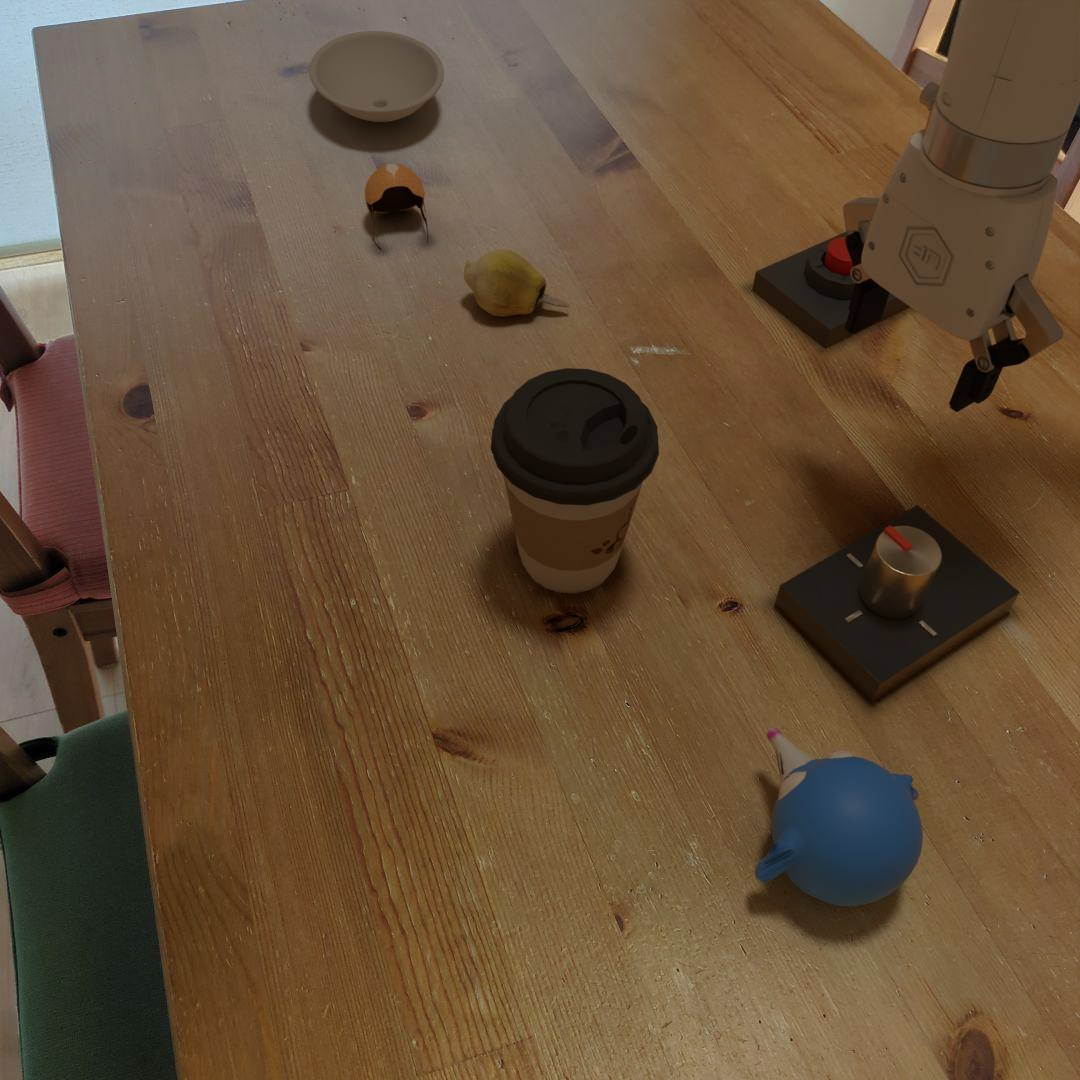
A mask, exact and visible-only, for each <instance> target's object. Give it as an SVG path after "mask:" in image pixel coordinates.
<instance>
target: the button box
mask: <svg viewBox="0 0 1080 1080" xmlns="http://www.w3.org/2000/svg"><path fill="white" fill-rule="evenodd" d="M847 236H848V231H846V230H845V231H844V232H842V233H840V234H836V235H835V236H833V237H830V238H828V239H826V240H824V241H821V242H819V243H817V244H815V245H812V246H810V247H808V248H805V249H804V250H800V251H799V252H796V253H794V254H792V255H790V256H788V257H787V256H786V257H785V258H782V259H781V260H778V261H775V262H774V263H772V264H770V265H768V266H765V267H763V268H761V269H758V270H756V271H755V274H754V279H753V284H752V289H751V290H752V291H753V292H754V293H755V294H757V295H758V296H759V297H760V298H762V299H763V300H765V302H767V303H768V304H769V305H770V306H772V307H773V308H774V309H775V310H777V311H778V312H779V313H780V314H782V315H783V316H784V317H785V318H787V319H788V320H789V321H790V322H792V323H793V324H794V325H796V326H797V327H798V328H799V329H801V330H802V331H803V332H804V333H805V334H806V335H808V336H809V337H810V338H812V339H813V340H814V341H816V343H818V344H819V345H820V346H821V347H822V348H825V349H826V348H829V347H830V346H833V345H834V344H836V343H838V342H841V341H843V340H845V339H847V338H849V337H851V336H853V335H855V334H854V333H852V334H850V333H849V332H848V331H846V330H845V325H846V322H847V318H848V315H849V305H850V301H851V298H852V294H853V291H854V287H855V284H856V282H854V281H853V280H852V278H851V276H843V275H840V274H836V273H833V272H831V271H830V270H828V269H827V268H826V267H825V264H824V259H825V255H826V251H827V247H828V244H829V243H830V242H831V241H832V240H834V239H836V238H841V237H847ZM908 308H911V307H910V306H908V305H907V304H905V303H904V302H903V301H901V300H900V299H898V298H897V297H895V296H894V295H893V294H891V293H889V297H888V300H887V303H886V306H885V309H884V312H883V316H882V318H881V319H880V320H879V321H878V322H876V323H874V324H872V325H870V326H868V327H866V328H864V329H863V330H865V329H868V328H869V327H871V326H873V325H876V324H878V323H879V322H881V321H883V320H885V319H888V318H890V317H892V316H895V315H896V314H898V313H899V312H902V311H904V310H907V309H908Z"/></svg>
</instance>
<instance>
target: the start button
mask: <svg viewBox="0 0 1080 1080" xmlns="http://www.w3.org/2000/svg"><path fill="white" fill-rule="evenodd" d="M845 239H846V237H841V238H836V239H834V240H832V241H831V242H830V243H829V244H828V247H827V251H826V255H825V259H824V264H825V267H826V268H827V269H828V270H830V271H831V272H833V273H836V274H840V275H843V276H851V275H850V271H851V269H852V268H853V267H854V266H853V263H852V260H851V258H850V255H849V252H848V250H847V247H846V244H845Z"/></svg>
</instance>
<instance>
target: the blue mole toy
mask: <svg viewBox="0 0 1080 1080" xmlns="http://www.w3.org/2000/svg"><path fill="white" fill-rule="evenodd" d="M766 737H767V739H768V741H769V742H770V743H771V744H772V747H773V750H774V755H775V759H776V763H777V768H778V774H779V785H780V786H779V789H778V797H777V799H776V801H775V803H774V806H773V809H772V813H771V836H772V841H773V846H772V847H771V849H769V851H768V853H767V854H766V855H765V856H763V857H762V859H760V860H759V861H758V862H757V864H756V865H755V868H754V875H755V878H756V879H757V880H758V881H760V882H762V883H768V882H771V881H773V879H775V878H777V877H778V876H779V875H781V874H782V873H784V872H785V874H786V875H787V877H788V878H789V880H791V881H792V882H793V883H794V885H795V886H796V887H797V888H798V889H800V891H802V892H803V893H805V894H807V895H808V896H810V897H811V898H812V897H813V898H815V899H817V900H819V901H822V902H825V903H827V904H829V905H833V906H839V907H858V906H864V905H868V904H872V903H875V902H877V901H880V900H882V899H884V898H885V897H887V896H888V895H891V894H892V893H894V892H895V891H896V890H897V889H898V888H899V887H901V886H902V885H903V884H904V883H905V882H906V881H907V879H908V878H909V877H910V876H911V874H912V873H913V871H914V869H915V868H916V866H917V864H918V861H919V859H920V856H921V852H922V848H923V837H924V836H923V835H924V834H923V825H922V819H921V816H920V813H919V809H918V808H917V805H916V803H915V802H914V801H916V800H918V799H919V796H920V794H919V793H920V792H919V791H918V790H917V789H916V787H913V786H914V784H913V781H914V778H913V775H909V774H901V773H900V774H899V773H892V772H890V771H889V770H887V769H886V768H885V767H883V766H881V765H879V764H878V763H876V762H874V761H871V760H869V759H866V758H863V757H859V756H854V754H852V753H851V751H847V750H833V752H831V753H830V754H829V755H828V756H827V757H823V758H814V757H812V756H811V755H809V754H808V753H807V752H805V751H804V750H802V749H801V748H800V747H798V746H797V745H795V744H794V743H792V742H791V741H790V739H787V737H785V736H784V735H783V733H782V731H781V730H780V729H779V728H777V727H770V728H768V730H767V732H766Z"/></svg>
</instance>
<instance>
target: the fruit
mask: <svg viewBox="0 0 1080 1080" xmlns="http://www.w3.org/2000/svg"><path fill="white" fill-rule="evenodd" d="M463 279H464V282H465V284H466V285H467V286H468V287H469V288H470V290H471V291H472V294H473V296H474V298H475V301H476V303H477V305H478V306H479V308H481V309H482V310H484V311H485V312H487V313H488V314H489V315H490V316H494V317H500V318H505V317H512V316H516V315H529V314H531V313H533V311H534V310H535V309H537V307H538V306H539V303H545V304H547V305H550V306H555V307H561V308H570V306H571V304H570V303H568V302H566V301H564V300H563V299H559V298H557V297H555V296H550V295H549V294H546V293H545V291H546V287H547V280H546V278H545V277H544V276H543V275H542V273H540V272H539V271H538V270H537V269H535V268H534V266H533V265H532V264H531V263H529V261H527V259H525V258H524V257H523V256H522V255H520V254H519V253H517V252H516V251H513V250H508V249H495V250H492V251H488V252H486V253H485V254H482V255H481V257H479V258H478V259H477V260H474V261H469V260H467V261H466V263H465V265H464V269H463Z"/></svg>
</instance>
